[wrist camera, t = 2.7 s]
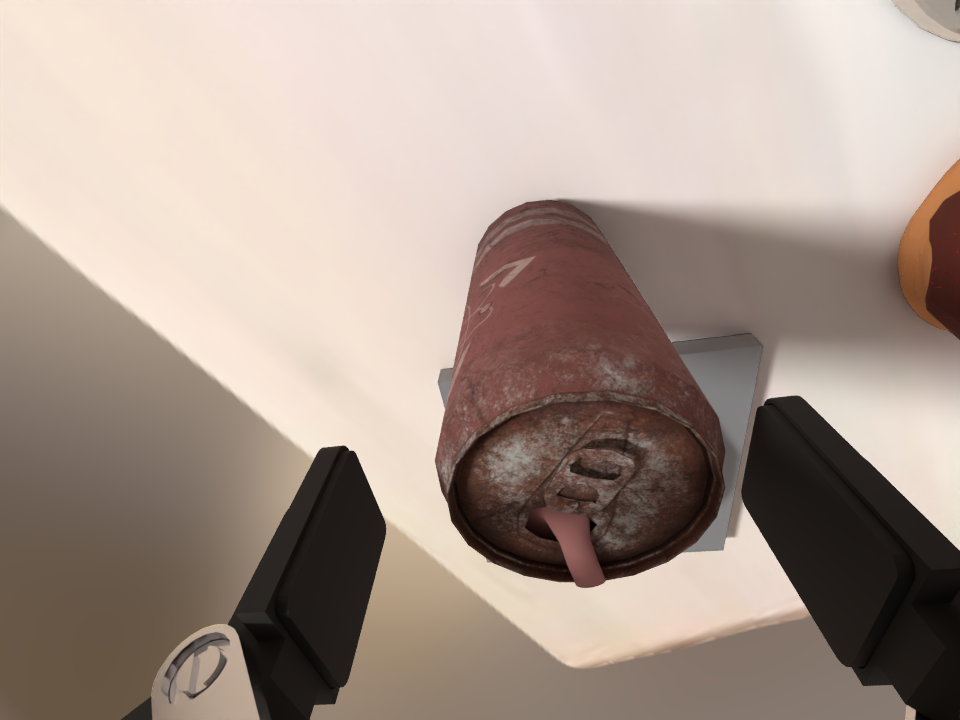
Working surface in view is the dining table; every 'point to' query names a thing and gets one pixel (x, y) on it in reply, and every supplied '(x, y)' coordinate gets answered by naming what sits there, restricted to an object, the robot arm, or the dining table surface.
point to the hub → (729, 389)
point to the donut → (934, 255)
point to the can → (572, 411)
